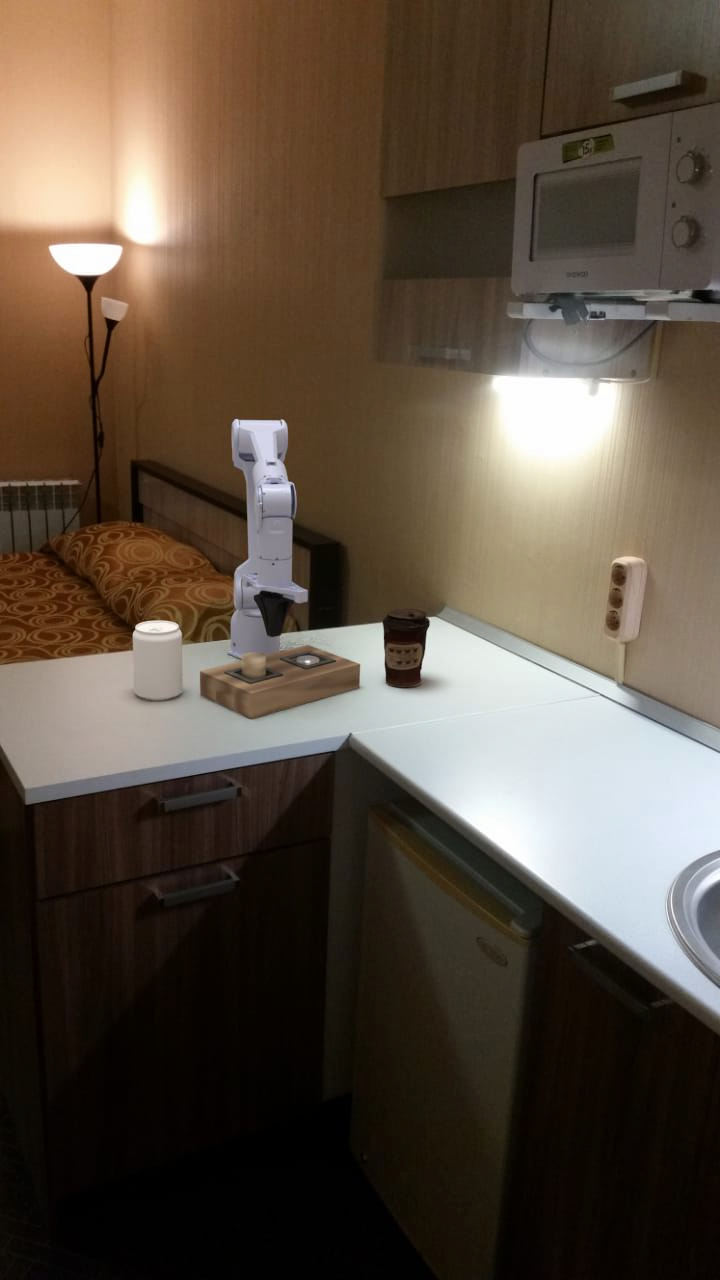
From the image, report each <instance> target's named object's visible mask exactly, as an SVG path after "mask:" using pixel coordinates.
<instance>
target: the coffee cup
mask: <svg viewBox="0 0 720 1280" xmlns="http://www.w3.org/2000/svg"><path fill="white" fill-rule="evenodd" d="M430 624H431V621H430V619H429V618H428V617H427V612H426V611H423V610H420V609H417V608H415V609H414V608H403V609H402V608H401V609H400V608H397V609H394V610H389V611H387V612H386V615H385V617H384V618H383V619H382V627H383V651H384V671H385V683H386V684H388V685H390V686H393V687H398V688H399V687H400V688H409V687H411V688H412V687H416V686H419V685H421V684H422V677H421V676H422V675H421V672H422V670H423V669H422V668H423V661H424V657H425V654H426V644H427V635H428V633H427V632H428V629H429V628H430V626H431V625H430Z"/></svg>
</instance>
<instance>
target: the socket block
mask: <svg viewBox="0 0 720 1280" xmlns="http://www.w3.org/2000/svg"><path fill="white" fill-rule="evenodd" d="M300 656H315V657H318V658H319V662H318V663H314V664H310V665H304V664H301V663H299V662H297V658H298V657H300ZM360 675H361V664H360V663H358V662H356V661H353V660H350V659H349V658H345V657H341V656H339V655H337V654H335V653H332V652H330V651H329V652H328V651H326V650H322V649H321V648H317V647H314V646H312V645H310V644H306V645H302V646H297V647H292V648H289V649H284V650H280V652H276V653H272V654H268V655H266V676H264V677H260V678H256V679H252V680H251V679H248V678H246V677H243V676H242V660H240V661H235V662H231V663H227V664H223V665H219V666H215V667H211V668H206V669H203V670H202V669H201V670H200V671H199V686H200V687H199V692H200V693H199V696H200V695H201V696H200V697H202V696H203V698H204V699H207V700H209V701H212V702H213V703H216V704H218V705H220V706H222V707H224V708H226V709H228V710H230V711H233V712H235V713H237V714H239V715H242V716H243V717H246V718H248V719H251V720H253V719H257V718H261V717H263V716H266V715H269V714H273V713H277V712H280V711H283V710H288V709H291V708H295V707H297V706H301V705H304V704H307V703H312V702H315V701H319V700H322V699H325V698H329V697H332V696H336V695H338V694H342V693H346V692H350V691H352V690H356V689H359V688H360V683H361V681H360V680H361V679H360V678H361V677H360Z"/></svg>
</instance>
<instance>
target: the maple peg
mask: <svg viewBox="0 0 720 1280" xmlns="http://www.w3.org/2000/svg"><path fill="white" fill-rule="evenodd" d="M241 661H242V676H243V677H246V678H248V679H251V680H252V679H256V678H260V677H264V676H266V655H265V654H263V653H259V652H249V653H245V654H243V655H242V659H241Z"/></svg>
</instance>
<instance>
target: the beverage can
mask: <svg viewBox="0 0 720 1280" xmlns="http://www.w3.org/2000/svg"><path fill="white" fill-rule="evenodd" d="M134 628H135V630H134V631H133V633H132V653H133V655H132V656H133V658H132V661H133V662H132V663H133V687H134V688H133V689H134V694H135V695H137V696H139V697H140V698H142V697H143V699H144V698H145V700H149V701H165V699H167V700H170V699H169V698H171V699H173V698H175V697H177V696H179V695H180V694H182V692H183V691H184V690H183V689H184V687H183V686H184V682H183V681H184V680H183V679H184V678H183V677H184V674H183V633H182V631H181V629H180V628H179V624H178V623H176V622H174V621H170V620H147V621H142V622H140V623H137V624H136V625H135V627H134ZM172 697H173V698H172Z"/></svg>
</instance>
